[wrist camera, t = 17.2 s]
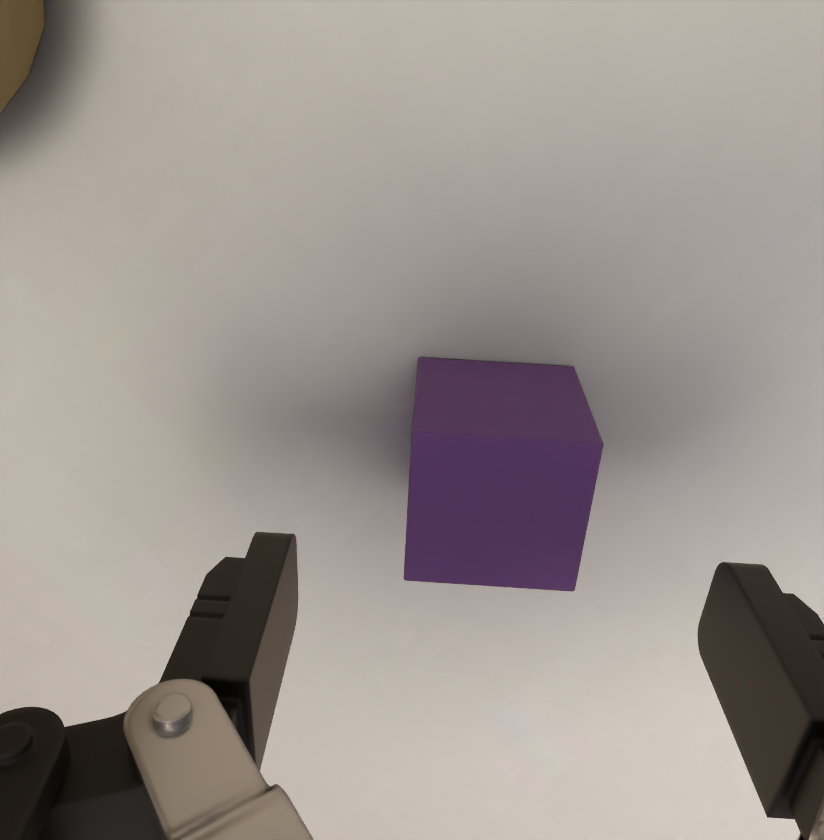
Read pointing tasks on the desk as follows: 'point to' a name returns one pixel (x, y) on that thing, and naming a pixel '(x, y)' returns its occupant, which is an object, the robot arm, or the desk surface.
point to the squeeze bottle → (18, 43)
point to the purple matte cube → (499, 474)
